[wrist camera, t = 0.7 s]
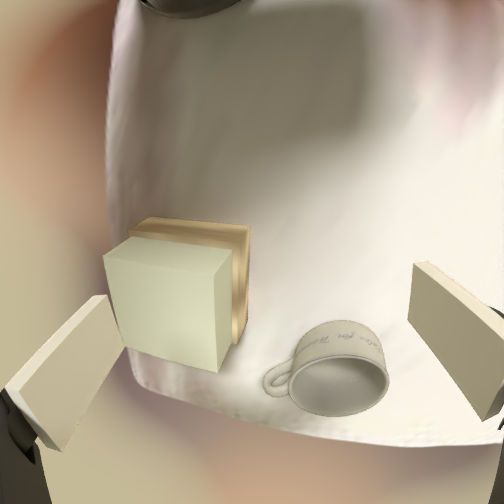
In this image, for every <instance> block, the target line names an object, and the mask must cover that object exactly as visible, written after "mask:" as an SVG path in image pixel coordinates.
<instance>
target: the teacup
mask: <svg viewBox="0 0 504 504" xmlns="http://www.w3.org/2000/svg"><path fill="white" fill-rule="evenodd" d="M289 371H292V373H291V376H290V377H289V379H288V380H287V381H286V382H285V383H284V384H283V385H281V386H277V387H274V386H272V383H273V381H274V380H275V379H276V378H278V377H279V376H281V375H283V374H285V373H287V372H289ZM388 387H389V375H388V373H387V369H386V363H385V358H384V353H383V349H382V346H381V343H380V341H379V339H378V338H377V336H376V335H375V333H374V332H372V331H371V330H370V329H369V328H368V327H366V326H364V325H362V324H360V323H357V322H353V321H346V320H339V321H331V322H327V323H324V324H321V325H319V326H317V327H315V328H313V329H312V330H310V331H309V332H308V333H307V334H306V335H305V336H304V337H303V338H302V339H301V341H300V342H299V344H298V346H297V349H296V352H295V356H294V357H292V358H291V359H290V360H289V361H287V362H285V363H282V364H280V365H278V366H276V367H274V368H273V369H271V370H270V371H269V372H267V374H266V375H265V376H264V378H263V388H264V390H265V392H266V393H267V394H268V395H270V396H272V397H282V396H285V395H287V394H289V395H290V397H291V399H292V400H293V401H294V403H296V404H297V405H298V406H299V407H300V408H301V409H303V410H305V411H307V412H310V413H313V414H316V415H321V416H327V417H342V416H349V415H353V414H357V413H360V412H363V411H365V410H367V409H369V408H371V407H373V406H374V405H376V404H377V403H378V402H379V401H380V400H381V399H382V398H383V397H384V395H385V394H386V392H387V390H388Z"/></svg>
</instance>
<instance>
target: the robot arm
mask: <svg viewBox="0 0 504 504" xmlns="http://www.w3.org/2000/svg"><path fill="white" fill-rule="evenodd" d="M139 1H140V2H141V3H142V4H143V5H145V6H146V7H148V8H149V9H151V10H153V11H155V12H157V13H159V14H161V15H164V16H168V17H172V18H194V17H200V16H205V15H209V14H212V13H215V12H218V11H220V10H223V9H225V8H227V7H229V6H231V5H233V4H235V3H236V2H238V1H240V0H139ZM408 321H409V323H410V324H411V325H412V326H413V327H414V329H415V330H416V331H417V333H418V334H419V335H420V336H421V338H422V339H423V340H424V341H425V343H426V344H427V345H428V347H429V348H430V349H431V350H432V352H433V353H434V354H435V356H436V357H437V358H438V360H439V361H440V362H441V364H442V365H443V366H444V368H445V369H446V370H447V372H448V373H449V374H450V376H451V377H452V379H453V380H454V381H455V383H456V384H457V386H458V387H459V388H460V390H461V391H462V393H463V394H464V395H465V397H466V398H467V400H468V401H469V403H470V404H471V406H472V407H473V409H474V410H475V412H476V413H477V415H478V416H479V418H480V419H481V421H482V422H483V421H485V420H487V419H489V418H491V417H493V416H495V415H496V414H498V413H499V412H500V410H501V408H502V407H503V405H504V314H503V313H501V312H500V311H498V310H496V309H494V308H492V307H489V306H487V305H486V304H485V303H483V302H482V301H481V300H480V299H478V298H477V297H476V296H475V295H473V294H472V293H471V292H469V291H468V290H467V289H466V288H464V287H463V286H462V285H460V284H459V283H458V282H456V281H455V280H454V279H452V278H451V277H449V276H448V275H447V274H445V273H444V272H443V271H441V270H440V269H438V268H437V267H436V266H434V265H433V264H431V263H430V262H429V261H425V262H418V263H413V274H412V286H411V296H410V304H409V312H408ZM124 347H125V346H124V343H123V341H122V338H121V335H120V332H119V329H118V327H117V324H116V321H115V318H114V315H113V312H112V309H111V306H110V303H109V299H108V296H107V295H95V296H93V297H91V298H90V299H89V300H88V301H87V302H86V303H85V304H84V305H83V306H82V307H81V308H80V309H79V310H78V311H77V312H76V313H75V314H74V315H73V316H72V317H71V318H70V319H69V320H68V321H67V322H66V323H64V324H63V325H62V327H60V328H59V329H58V330H57V332H55V333H54V335H53V336H52V337H51V338H50V339H49V340H48V341H47V342H46V343H45V344H44V345H43V346H42V347H41V348H40V349H39V350H38V351H37V352H36V353H35V354H34V355H33V357H32V358H31V359H29V361H28V362H27V363H26V364H25V365H24V366H23V367H22V368H21V369H20V370H19V372H18V373H17V374H16V375H15V376H14V377H13V378H12V379H11V380H10V381H9V383H8V384H7V385H6V386H5V387H4V389H3V390H2V391H1V392H0V504H52V502H51V498H50V495H49V491H48V487H47V483H46V479H45V476H44V471H43V466H42V462H41V456H40V450H39V448H38V445H37V444H36V443H35V440H36V438H37V436H38V437H39V438H40V439H41V441H42V442H43V443H44V444H45V446H46V447H48V448H51V449H54V450H57V451H60V452H63V450H64V448H65V446H66V444H67V443H68V441H69V439H70V437H71V435H72V434H73V432H74V430H75V428H76V427H77V425H78V423H79V421H80V420H81V418H82V416H83V414H84V413H85V411H86V409H87V407H88V406H89V404H90V403H91V401H92V399H93V397H94V396H95V394H96V393H97V391H98V389H99V388H100V386H101V384H102V383H103V381H104V379H105V378H106V376H107V374H108V373H109V371H110V370H111V368H112V366H113V365H114V363H115V362H116V360H117V359H118V357H119V355H120V354H121V352H122V351H123V349H124ZM503 425H504V418H503V420H502V421H501V423H500V425H499V427H498V430H501V428H502V427H503ZM488 504H504V439H503V445H502V451H501V456H500V461H499V466H498V470H497V474H496V478H495V482H494V486H493V490H492V493H491V496H490V500H489V503H488Z"/></svg>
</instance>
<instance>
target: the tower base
mask: <svg viewBox="0 0 504 504" xmlns="http://www.w3.org/2000/svg"><path fill="white" fill-rule="evenodd" d="M131 236H134V237H141V238H149V239H156V240H163V241H171V242H178V243H185V244H193V245H200V246H208V247H215V248H222V249H230V250H232V343H233V344H238V341H239V339H240V337H241V334H242V332H243V330H244V327H245V325H246V323H247V320H248V289H249V255H250V226H243V225H234V224H224V223H214V222H204V221H194V220H183V219H173V218H162V217H148V218H147V219H145V220H143V221H142V222H140V223H138V224H137V225H135V226H133V227H132V228H130V229H128V237H129V238H130V237H131Z"/></svg>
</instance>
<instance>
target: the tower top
mask: <svg viewBox="0 0 504 504" xmlns="http://www.w3.org/2000/svg"><path fill="white" fill-rule="evenodd" d="M103 261H104V266H105V271H106V276H107V281H108V285H109V290H110V294H111V298H112V303H113V307H114V311H115V315H116V319H117V323H118V326H119V330H120V334H121V337H122V341H123V343H124V346H125V347H128V348H131V349H134V350H137V351H140V352H143V353H146V354H149V355H152V356H156V357H159V358H162V359H166V360H169V361H173V362H176V363H180V364H184V365H187V366H191V367H195V368H199V369H203V370H207V371H211V372H215V373H218V371H219V369H220V367H221V365H222V363H223V360H224V358H225V356H226V354H227V351H228V349H229V347H230V345H231V343H232V250H230V249H222V248H215V247H208V246H200V245H193V244H185V243H178V242H171V241H163V240H156V239H149V238H141V237H134V236H131V237H130V238H128V239H127V240H125V241H124V242H122V243H121V244H120V245H118V246H117V247H115V248H114V249H112V250H111V251H109V252H108V253H106V254H105V255H104V256H103Z"/></svg>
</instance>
